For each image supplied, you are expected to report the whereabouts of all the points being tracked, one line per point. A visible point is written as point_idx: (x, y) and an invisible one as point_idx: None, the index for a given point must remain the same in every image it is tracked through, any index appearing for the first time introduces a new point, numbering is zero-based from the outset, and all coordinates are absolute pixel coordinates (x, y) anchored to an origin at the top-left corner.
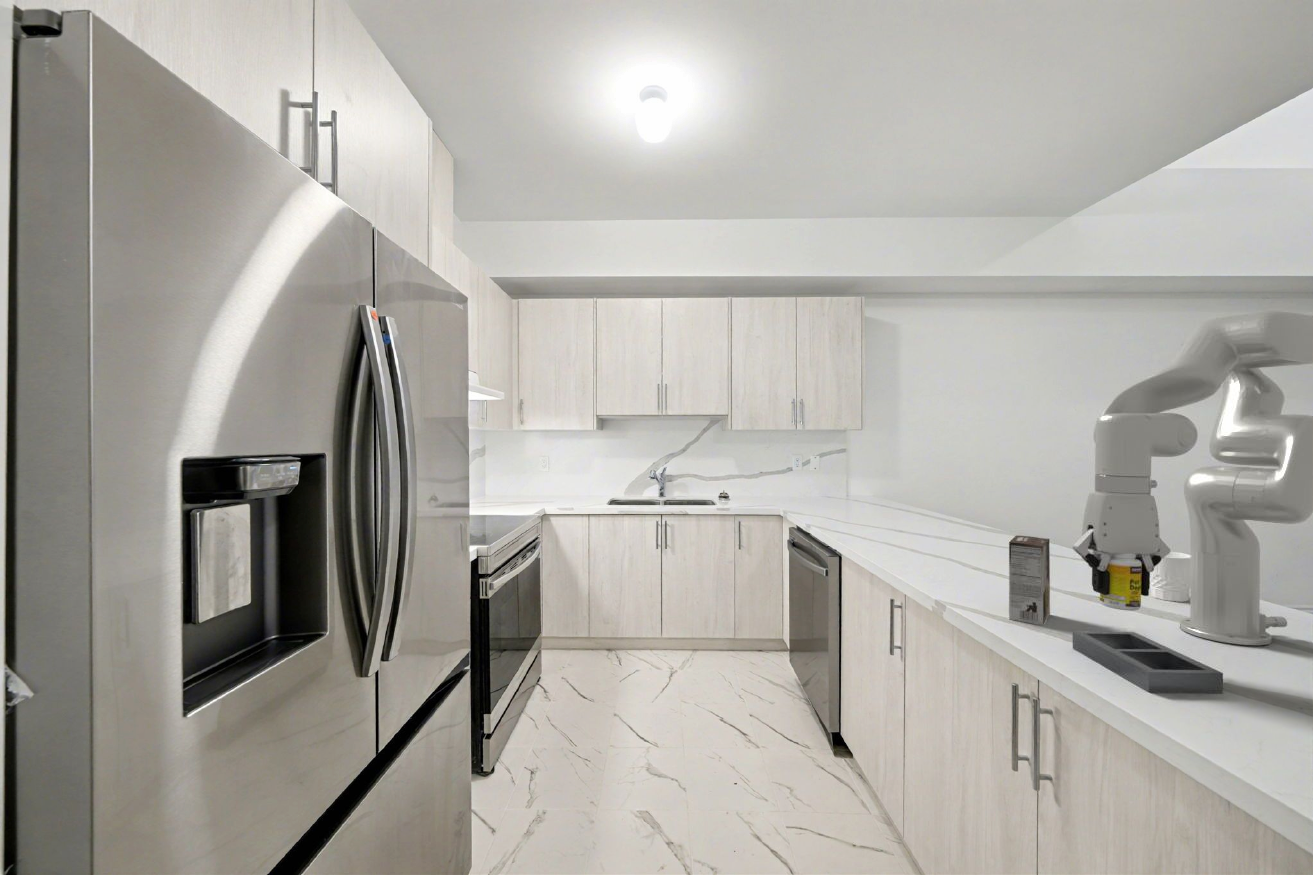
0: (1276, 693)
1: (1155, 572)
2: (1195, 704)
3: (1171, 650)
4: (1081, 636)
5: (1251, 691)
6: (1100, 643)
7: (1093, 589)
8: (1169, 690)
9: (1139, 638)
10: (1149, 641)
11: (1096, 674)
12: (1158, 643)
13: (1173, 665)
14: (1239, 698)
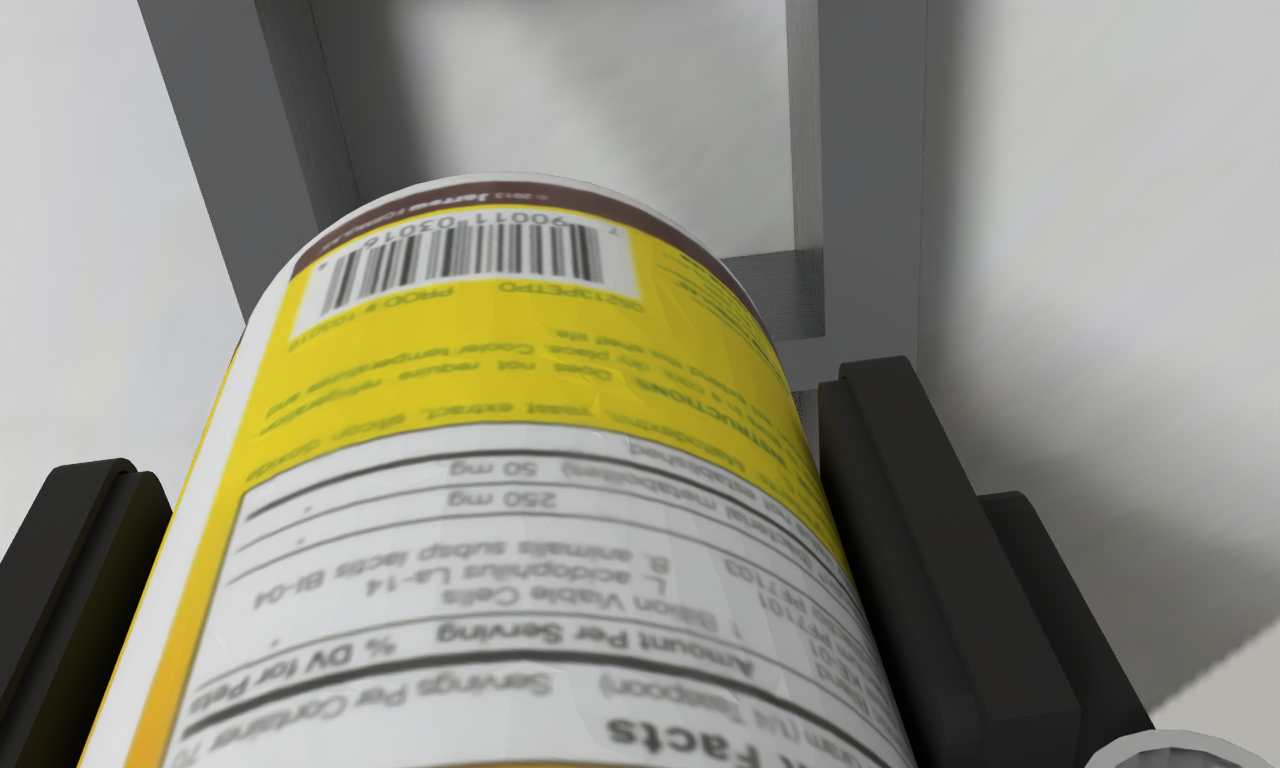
0: (1221, 564)
1: None
2: None
3: (894, 346)
4: (150, 31)
5: (1090, 561)
6: (285, 258)
7: (63, 474)
8: None
9: (822, 16)
10: (864, 112)
11: (178, 458)
12: (920, 160)
13: (811, 391)
14: None
